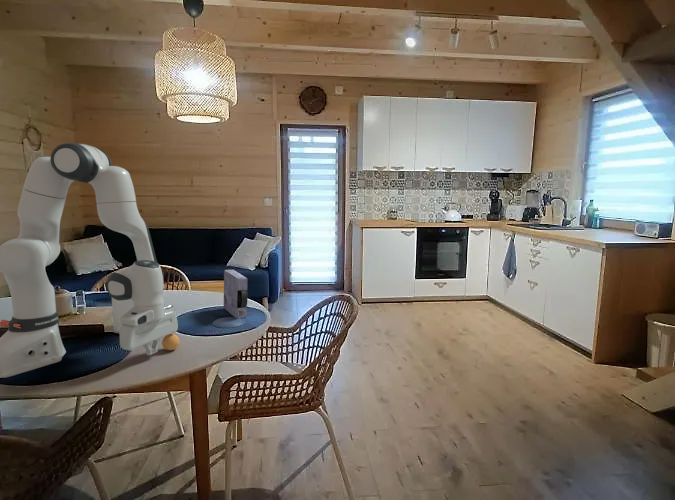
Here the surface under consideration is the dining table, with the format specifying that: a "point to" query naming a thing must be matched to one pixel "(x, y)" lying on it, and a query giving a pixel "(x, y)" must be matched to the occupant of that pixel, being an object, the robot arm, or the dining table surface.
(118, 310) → the canister
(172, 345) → the ball
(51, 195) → the robot arm
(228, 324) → the disc
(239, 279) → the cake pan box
